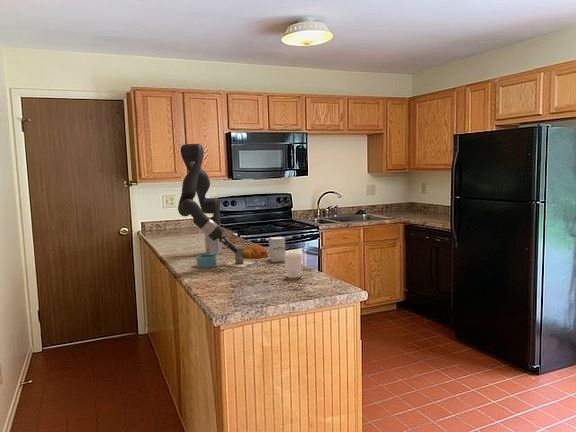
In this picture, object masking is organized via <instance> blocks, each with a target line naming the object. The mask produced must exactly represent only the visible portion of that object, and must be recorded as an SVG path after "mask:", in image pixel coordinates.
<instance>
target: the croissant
mask: <svg viewBox="0 0 576 432" xmlns="http://www.w3.org/2000/svg"><path fill="white" fill-rule="evenodd" d="M242 248H243V247H242ZM267 257H269V252H268V251H267V249H266V248H265V247H264V246H263V245H261V244H250V245H247V246H245V247H244V248H243V259H261V258H263V259H264V258H267Z"/></svg>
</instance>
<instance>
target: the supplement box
mask: <svg viewBox="0 0 576 432" xmlns="http://www.w3.org/2000/svg"><path fill="white" fill-rule="evenodd" d="M268 249H269V250H268V251H269V252H268V257H269V261H270V262H271V263H276V262H277V263H278V262H285V256H284V255H285V254H286V238H285V237H283V236H276V237H275V236H274V237H273V236H272V237H268Z"/></svg>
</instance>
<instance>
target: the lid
mask: <svg viewBox="0 0 576 432" xmlns="http://www.w3.org/2000/svg"><path fill="white" fill-rule="evenodd" d="M235 248H236V249H237V250H238V251H237V252H236V253H234V259H235V260H233V261H230V262H226V263H223V264H221V265H222V266H224V267H223V268H225V267H233V268H232V269H234V268H245V267H248V266H251V265H254V264H257V263H258V261H249V260H244V258H243V247H242V246H241V247H235ZM257 265H258V264H257ZM254 266H255V265H254Z"/></svg>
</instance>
